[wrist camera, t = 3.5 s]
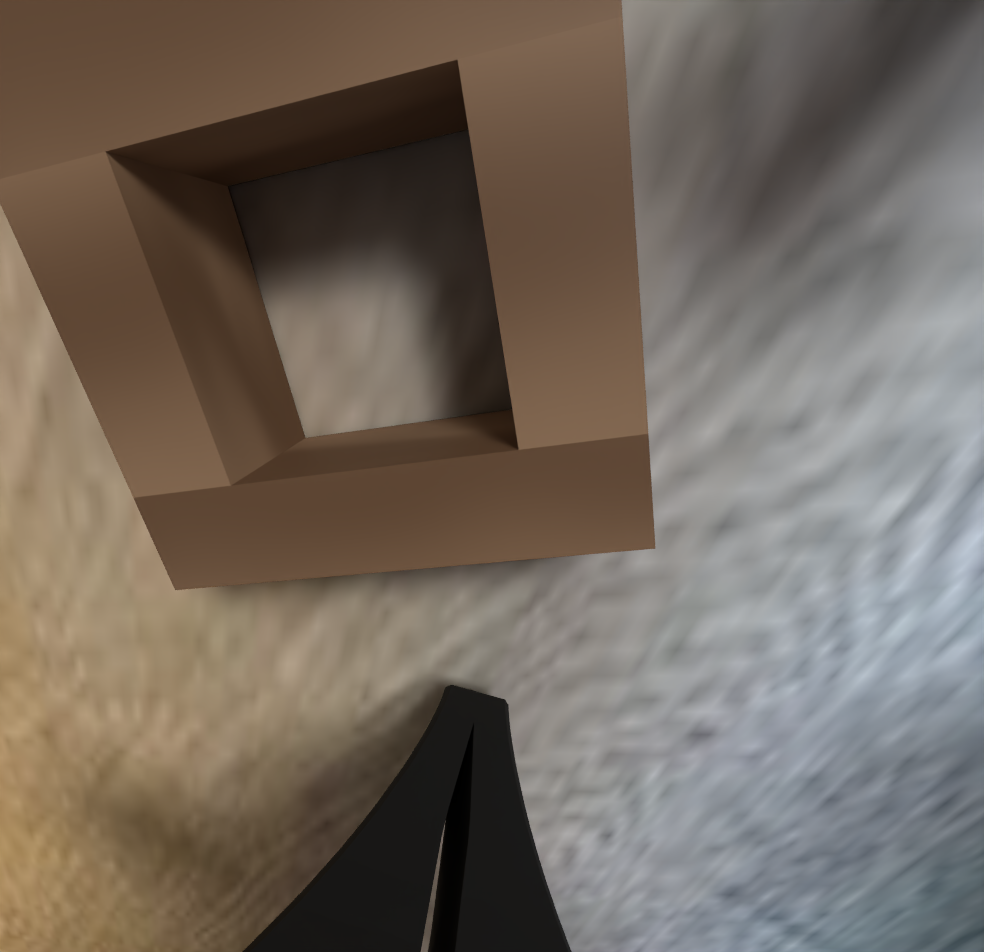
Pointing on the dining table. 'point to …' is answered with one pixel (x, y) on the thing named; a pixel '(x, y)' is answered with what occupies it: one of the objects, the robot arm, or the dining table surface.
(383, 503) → the socket block
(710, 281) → the dining table surface
